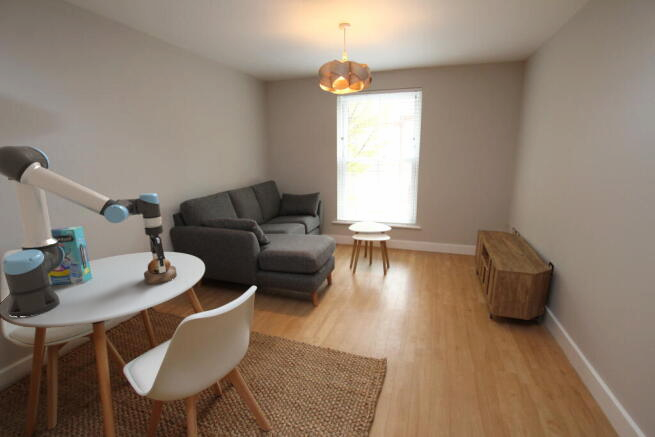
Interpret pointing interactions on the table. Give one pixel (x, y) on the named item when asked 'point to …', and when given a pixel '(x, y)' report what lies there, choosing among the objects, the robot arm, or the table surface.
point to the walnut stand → (160, 276)
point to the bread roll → (154, 266)
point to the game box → (71, 257)
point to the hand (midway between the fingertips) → (159, 269)
